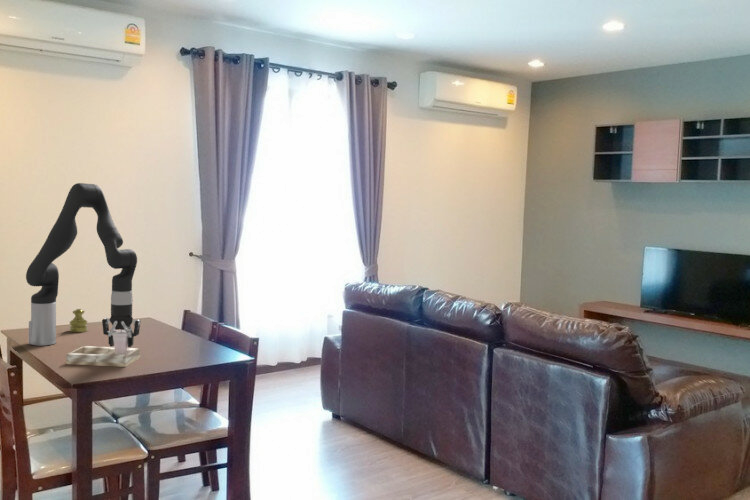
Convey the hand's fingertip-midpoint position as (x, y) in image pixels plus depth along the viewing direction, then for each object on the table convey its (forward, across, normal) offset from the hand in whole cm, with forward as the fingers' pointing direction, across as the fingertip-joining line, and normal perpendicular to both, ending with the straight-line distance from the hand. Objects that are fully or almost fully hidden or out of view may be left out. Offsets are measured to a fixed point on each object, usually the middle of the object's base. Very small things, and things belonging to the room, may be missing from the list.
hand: (121, 346), depth 253 cm
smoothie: (+4, 0, 0) cm, 4 cm away
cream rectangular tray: (+6, -6, 0) cm, 9 cm away
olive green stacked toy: (+6, -39, +50) cm, 64 cm away
